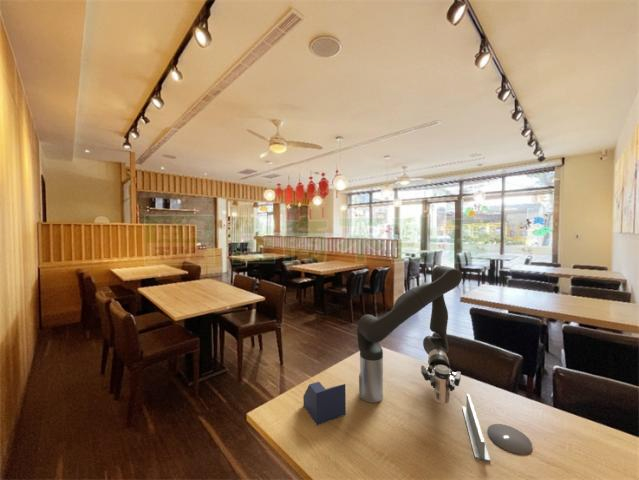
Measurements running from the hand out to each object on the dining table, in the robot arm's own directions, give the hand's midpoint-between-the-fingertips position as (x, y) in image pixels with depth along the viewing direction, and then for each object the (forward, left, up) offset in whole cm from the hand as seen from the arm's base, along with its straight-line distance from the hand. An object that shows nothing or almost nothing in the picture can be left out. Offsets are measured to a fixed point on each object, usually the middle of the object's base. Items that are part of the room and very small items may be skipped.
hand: (442, 386), depth 93 cm
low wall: (+10, +3, -16) cm, 19 cm away
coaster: (+20, +3, -16) cm, 26 cm away
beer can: (0, +3, -7) cm, 7 cm away
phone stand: (-42, -2, -16) cm, 45 cm away
